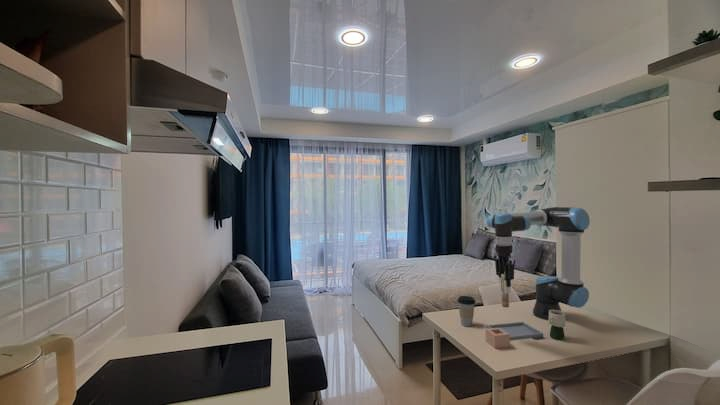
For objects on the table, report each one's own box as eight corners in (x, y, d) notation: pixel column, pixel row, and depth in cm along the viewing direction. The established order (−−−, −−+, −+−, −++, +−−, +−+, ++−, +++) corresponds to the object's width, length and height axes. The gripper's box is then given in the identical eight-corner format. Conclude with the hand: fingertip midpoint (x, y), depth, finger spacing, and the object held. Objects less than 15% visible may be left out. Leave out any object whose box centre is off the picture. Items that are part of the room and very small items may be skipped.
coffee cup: (464, 320, 179) (464, 294, 179) (479, 325, 172) (478, 298, 171) (454, 324, 174) (453, 297, 174) (468, 329, 166) (468, 302, 166)
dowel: (506, 304, 155) (505, 273, 155) (510, 307, 152) (509, 274, 152) (500, 305, 155) (500, 273, 154) (504, 307, 152) (503, 275, 151)
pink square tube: (499, 341, 152) (499, 327, 152) (509, 348, 145) (509, 334, 145) (485, 343, 151) (485, 328, 151) (494, 350, 144) (494, 335, 144)
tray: (522, 325, 170) (522, 321, 170) (543, 338, 155) (543, 333, 155) (486, 329, 166) (486, 325, 166) (503, 342, 151) (503, 337, 151)
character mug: (558, 333, 160) (558, 308, 160) (571, 338, 154) (571, 313, 153) (542, 336, 157) (542, 311, 156) (555, 342, 150) (555, 316, 150)
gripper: (487, 242, 160) (488, 287, 160) (507, 247, 144) (508, 297, 145) (500, 241, 161) (501, 286, 162) (521, 246, 145) (523, 296, 146)
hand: (505, 291), depth 153 cm, fingers closed on dowel, 3 cm apart
